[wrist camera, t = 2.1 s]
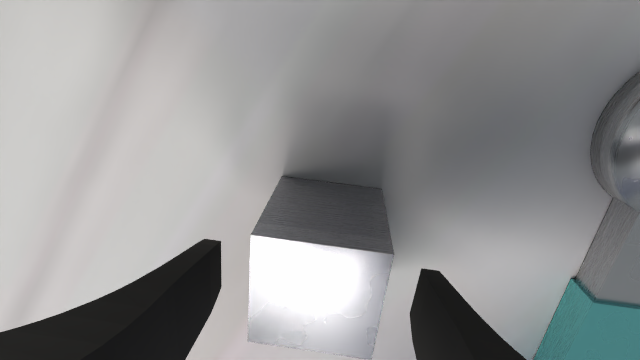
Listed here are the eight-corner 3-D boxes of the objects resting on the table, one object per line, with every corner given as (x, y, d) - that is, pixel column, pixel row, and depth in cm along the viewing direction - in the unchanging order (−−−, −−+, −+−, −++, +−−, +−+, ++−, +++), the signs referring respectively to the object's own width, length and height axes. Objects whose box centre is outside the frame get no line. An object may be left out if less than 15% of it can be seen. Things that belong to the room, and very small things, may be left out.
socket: (366, 271, 17) (371, 359, 12) (276, 259, 17) (247, 341, 12) (381, 188, 15) (393, 254, 10) (281, 176, 15) (250, 235, 11)
